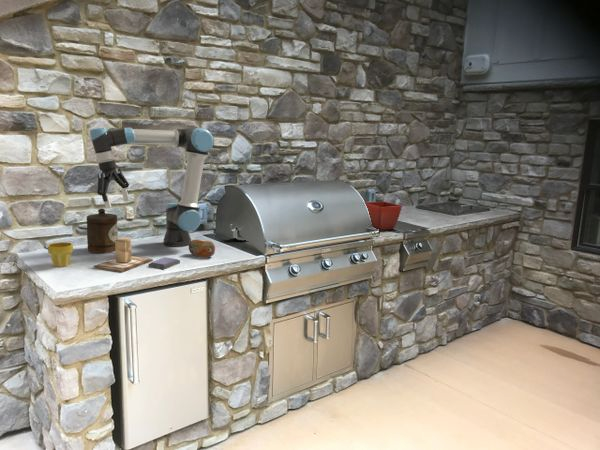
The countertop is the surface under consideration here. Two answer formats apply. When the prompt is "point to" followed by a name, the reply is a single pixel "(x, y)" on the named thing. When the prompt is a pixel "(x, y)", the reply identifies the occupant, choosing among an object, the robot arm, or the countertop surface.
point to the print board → (123, 264)
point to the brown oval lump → (201, 248)
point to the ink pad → (164, 263)
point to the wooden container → (101, 232)
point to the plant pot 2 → (383, 214)
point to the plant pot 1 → (60, 253)
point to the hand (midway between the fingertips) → (118, 204)
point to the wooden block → (123, 250)
